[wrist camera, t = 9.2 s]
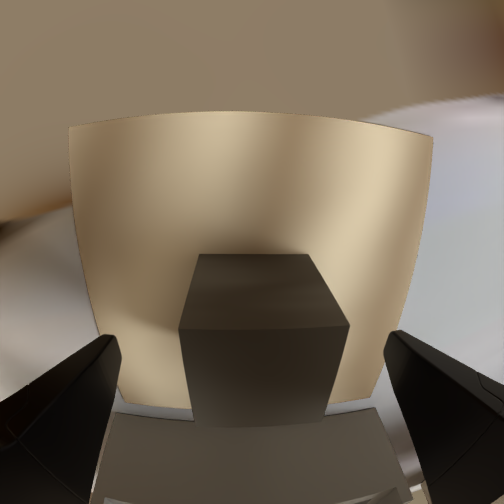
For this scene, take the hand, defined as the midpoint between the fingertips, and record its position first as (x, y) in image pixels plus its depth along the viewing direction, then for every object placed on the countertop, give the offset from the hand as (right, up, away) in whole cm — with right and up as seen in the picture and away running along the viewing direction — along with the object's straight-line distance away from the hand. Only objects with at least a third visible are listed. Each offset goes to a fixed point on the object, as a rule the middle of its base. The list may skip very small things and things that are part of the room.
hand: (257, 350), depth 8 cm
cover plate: (0, +1, +4) cm, 4 cm away
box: (-1, -14, +9) cm, 16 cm away
